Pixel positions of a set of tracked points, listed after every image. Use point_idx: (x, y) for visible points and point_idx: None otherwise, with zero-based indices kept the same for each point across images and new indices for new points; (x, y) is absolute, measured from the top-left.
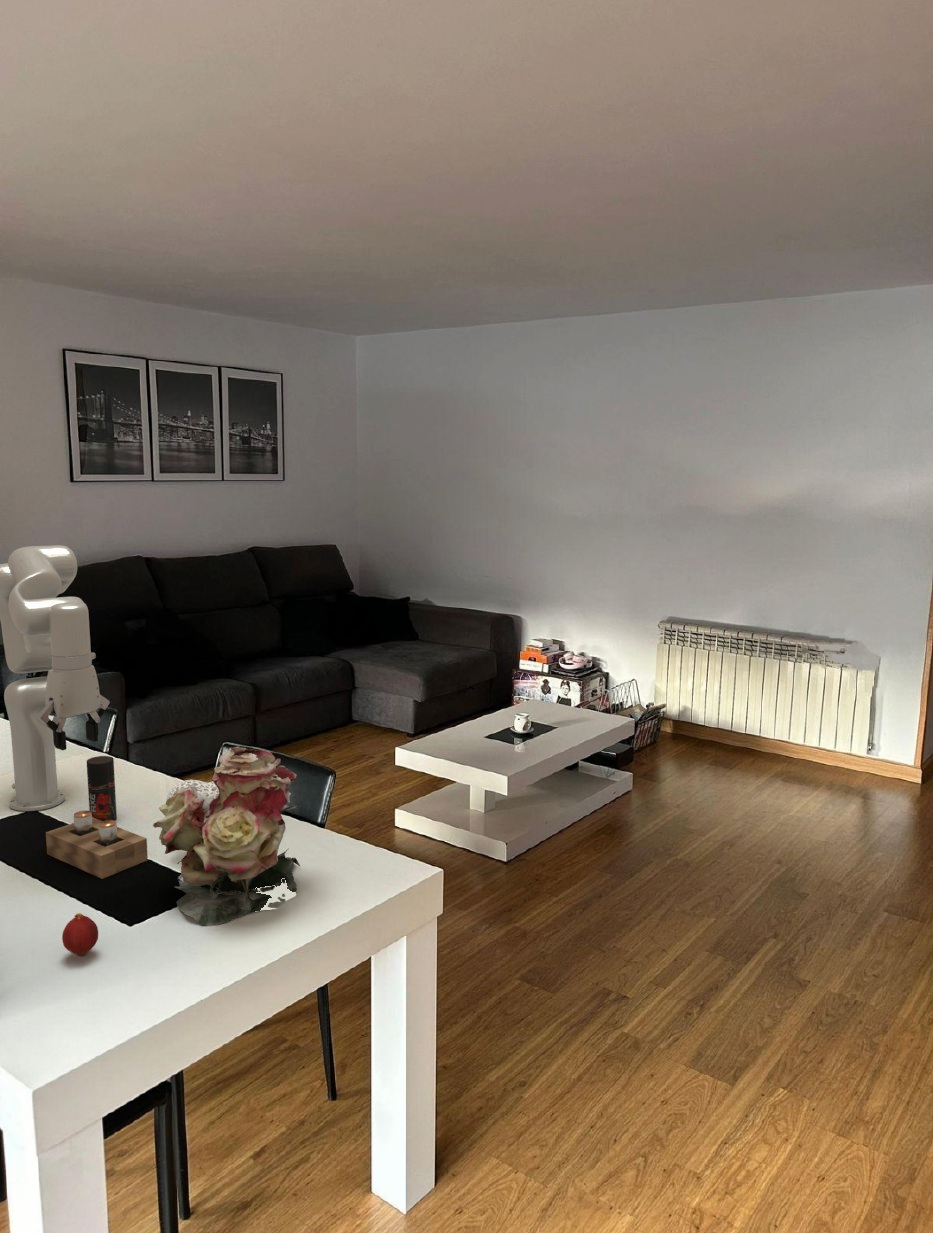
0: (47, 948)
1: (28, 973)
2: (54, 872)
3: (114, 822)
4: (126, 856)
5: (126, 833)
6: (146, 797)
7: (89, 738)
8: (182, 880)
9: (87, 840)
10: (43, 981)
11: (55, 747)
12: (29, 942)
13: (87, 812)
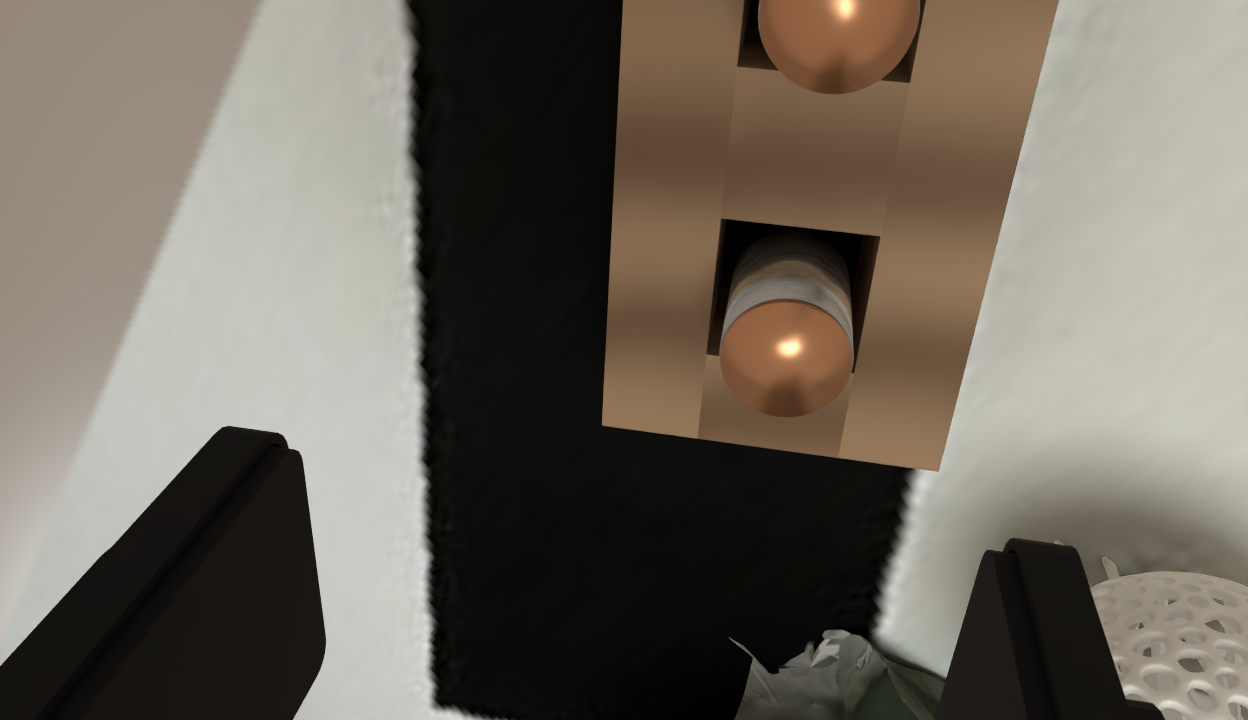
0: None
1: None
2: (521, 58)
3: (823, 392)
4: None
5: (945, 310)
6: None
7: (966, 651)
8: (818, 657)
9: (714, 174)
10: None
11: (234, 431)
12: (128, 511)
13: (879, 33)
